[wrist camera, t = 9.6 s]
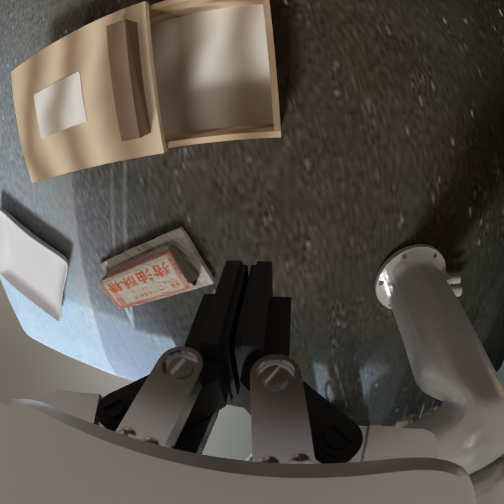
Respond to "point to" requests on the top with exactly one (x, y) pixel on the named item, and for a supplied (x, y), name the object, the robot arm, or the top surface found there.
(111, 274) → the packaged product
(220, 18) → the mailer box
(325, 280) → the top surface
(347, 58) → the top surface
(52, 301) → the salad plate
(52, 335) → the top surface
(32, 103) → the lid
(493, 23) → the top surface
